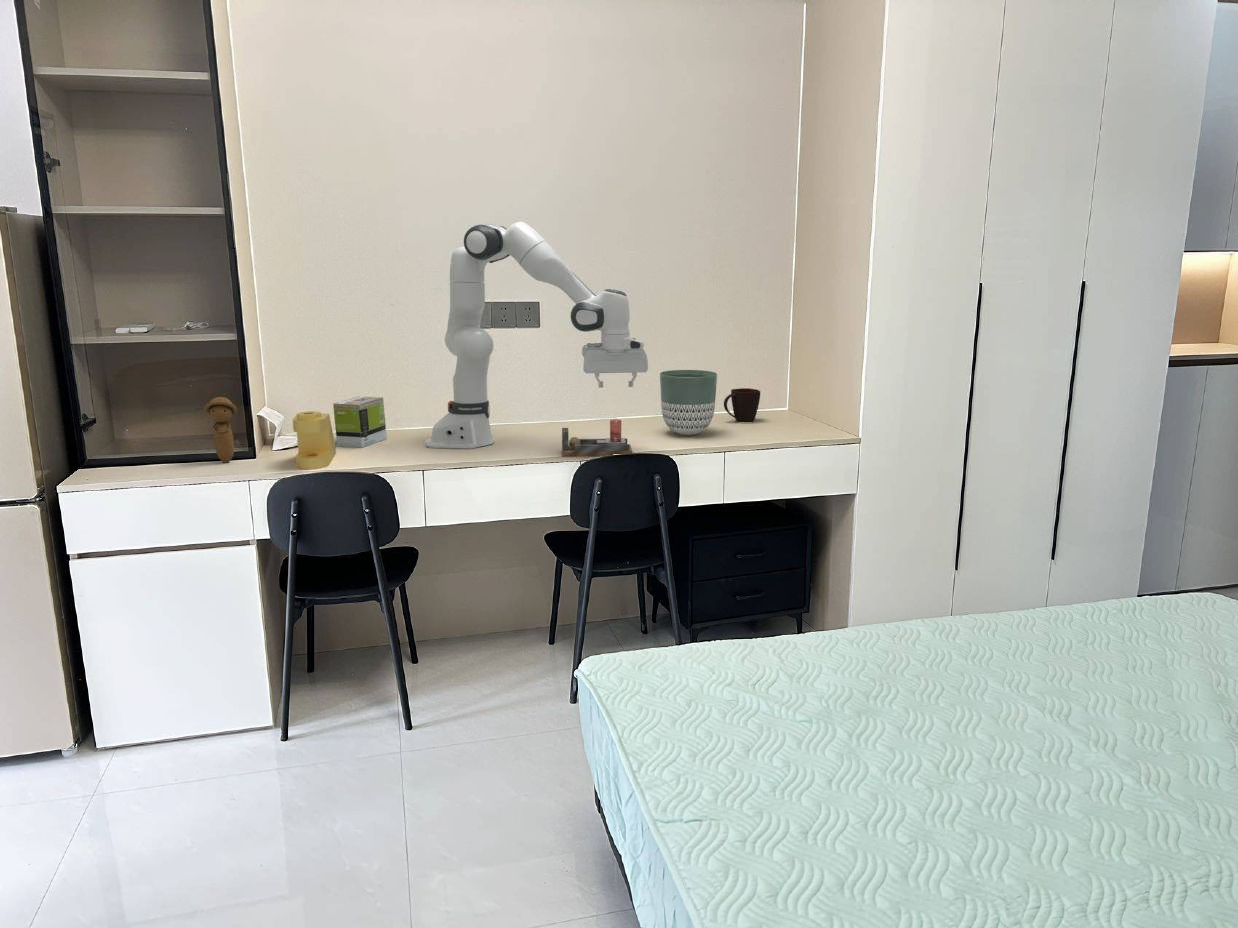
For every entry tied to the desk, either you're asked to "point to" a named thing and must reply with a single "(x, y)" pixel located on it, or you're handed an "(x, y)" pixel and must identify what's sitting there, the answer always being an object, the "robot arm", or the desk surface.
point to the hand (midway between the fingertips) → (615, 387)
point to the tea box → (359, 421)
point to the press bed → (592, 447)
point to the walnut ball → (574, 441)
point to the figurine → (222, 426)
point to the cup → (743, 404)
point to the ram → (613, 434)
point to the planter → (688, 400)
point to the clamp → (314, 440)
